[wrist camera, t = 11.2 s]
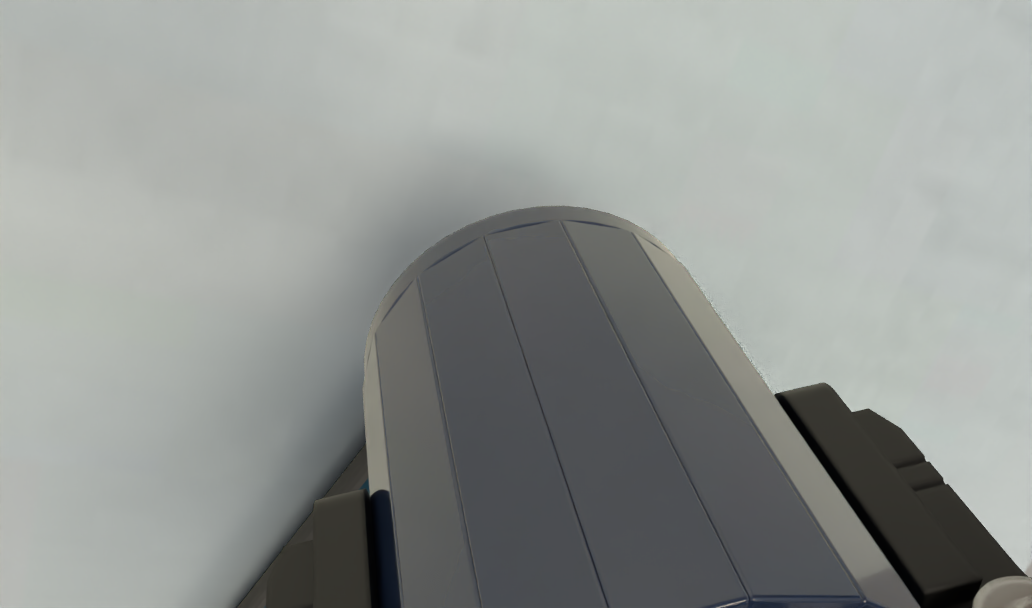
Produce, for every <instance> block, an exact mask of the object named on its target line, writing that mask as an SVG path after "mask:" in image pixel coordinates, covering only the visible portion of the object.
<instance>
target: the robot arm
mask: <svg viewBox="0 0 1032 608" xmlns="http://www.w3.org/2000/svg"><path fill="white" fill-rule="evenodd" d="M774 396H775V398H776V399H777V401H778V402H779V403H780V405H781V406H782V408H783V409H784V411H785V412H786V413H787V415H788V416H789V418H790V419H791V421H792V422H793V424H794V425H795V426H796V428H797V429H798V431H799V432H800V434H801V435H802V437H803V438H804V439H805V441H806V442H807V444H808V445H809V447H810V448H811V450H812V451H813V452H814V454H815V455H816V457H817V458H818V460H819V461H820V462H821V464H822V465H823V467H824V468H825V470H826V471H827V473H828V474H829V475H830V477H831V478H832V480H833V481H834V483H835V484H836V486H837V487H838V488H839V490H840V491H841V493H842V494H843V496H844V497H845V499H846V500H847V501H848V503H849V504H850V506H851V507H852V509H853V510H854V511H855V513H856V514H857V516H858V517H859V519H860V520H861V522H862V523H863V524H864V526H865V527H866V529H867V530H868V532H869V533H870V535H871V536H872V537H873V539H874V540H875V542H876V543H877V545H878V546H879V548H880V549H881V550H882V552H883V553H884V555H885V556H886V558H887V559H888V560H889V562H890V563H891V565H892V566H893V568H894V569H895V571H896V572H897V573H898V575H899V576H900V578H901V579H902V581H903V582H904V584H905V585H906V586H907V588H908V589H909V591H910V592H911V594H912V595H913V597H914V598H915V599H916V601H917V602H918V604H919V605H920V607H921V608H1032V578H1031V577H1028V576H1027V575H1026V574H1024V572H1023V571H1022V570H1021V569H1020V568H1019V567H1018V566H1017V565H1016V564H1015V563H1014V562H1013V560H1012V559H1011V558H1010V557H1009V556H1008V554H1007V553H1006V552H1005V551H1004V550H1003V549H1002V547H1001V546H1000V545H999V544H998V543H997V541H996V540H995V539H994V538H993V537H992V536H991V534H990V533H989V532H988V531H987V530H986V528H985V527H984V526H983V525H982V524H981V522H980V521H979V520H978V519H977V518H976V517H975V515H974V514H973V513H972V512H971V511H970V509H969V508H968V507H967V506H966V505H965V503H964V502H963V501H962V500H961V499H960V498H959V496H958V495H957V494H956V493H955V492H954V490H953V489H952V488H951V487H950V486H949V485H948V484H945V483H944V481H943V477H942V476H941V475H940V474H939V473H938V471H937V470H936V469H935V468H934V467H933V466H932V464H931V463H930V462H926V460H925V456H924V455H923V454H922V453H921V451H920V450H919V449H918V448H917V447H916V445H915V444H914V443H913V442H912V441H911V439H910V438H909V437H908V436H907V435H906V434H905V432H904V431H903V430H902V429H901V428H899V427H898V426H896V425H894V424H893V423H891V422H890V421H888V420H886V419H885V418H883V417H881V416H880V415H878V414H877V413H875V412H873V411H872V410H870V409H864V410H860V411H856V412H851V411H850V409H849V408H848V407H847V406H846V404H845V403H844V402H843V401H842V399H841V398H840V397H839V395H838V394H837V393H836V392H835V390H834V389H833V388H832V387H831V386H829V385H828V384H826V383H819V384H815V385H810V386H806V387H802V388H797V389H793V390H789V391H785V392H780V393H776V394H775V395H774ZM266 608H378V597H377V583H376V569H375V556H374V542H373V528H372V514H371V501H370V495H369V493H368V491H367V489H366V488H365V489H361V490H357V491H352V492H348V493H344V494H340V495H335V496H331V497H327V498H323V499H318V500H315V502H314V506H313V540H310V541H305V542H301V543H297V544H293V545H289V546H285V547H283V549H282V551H281V553H280V555H279V557H278V560H277V562H276V564H275V566H274V568H273V570H272V572H271V574H270V576H269V578H268V580H267V591H266Z"/></svg>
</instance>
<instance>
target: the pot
mask: <svg viewBox="0 0 1032 608" xmlns="http://www.w3.org/2000/svg"><path fill="white" fill-rule="evenodd" d="M364 377H365V378H364V383H363V387H362V391H363V406H364V420H365V434H366V448H367V461H368V475H369V489H370V501H371V514H372V528H373V542H374V556H375V569H376V583H377V597H378V608H921V607H920V605H919V604H918V602H917V601H916V599H915V598H914V597H913V595H912V594H911V592H910V591H909V589H908V588H907V586H906V585H905V584H904V582H903V581H902V579H901V578H900V576H899V575H898V573H897V572H896V571H895V569H894V568H893V566H892V565H891V563H890V562H889V560H888V559H887V558H886V556H885V555H884V553H883V552H882V550H881V549H880V548H879V546H878V545H877V543H876V542H875V540H874V539H873V537H872V536H871V535H870V533H869V532H868V530H867V529H866V527H865V526H864V524H863V523H862V522H861V520H860V519H859V517H858V516H857V514H856V513H855V511H854V510H853V509H852V507H851V506H850V504H849V503H848V501H847V500H846V499H845V497H844V496H843V494H842V493H841V491H840V490H839V488H838V487H837V486H836V484H835V483H834V481H833V480H832V478H831V477H830V475H829V474H828V473H827V471H826V470H825V468H824V467H823V465H822V464H821V462H820V461H819V460H818V458H817V457H816V455H815V454H814V452H813V451H812V450H811V448H810V447H809V445H808V444H807V442H806V441H805V439H804V438H803V437H802V435H801V434H800V432H799V431H798V429H797V428H796V426H795V425H794V424H793V422H792V421H791V419H790V418H789V416H788V415H787V413H786V412H785V411H784V409H783V408H782V406H781V405H780V403H779V402H778V401H777V399H776V398H775V396H774V395H773V393H772V392H771V390H770V389H769V388H768V386H767V385H766V383H765V382H764V380H763V379H762V377H761V376H760V375H759V373H758V372H757V370H756V369H755V367H754V366H753V364H752V363H751V362H750V360H749V359H748V357H747V356H746V354H745V353H744V351H743V350H742V349H741V347H740V346H739V344H738V343H737V341H736V340H735V339H734V337H733V336H732V334H731V333H730V331H729V330H728V328H727V327H726V326H725V324H724V323H723V321H722V320H721V318H720V317H719V315H718V314H717V313H716V311H715V310H714V308H713V307H712V305H711V304H710V302H709V301H708V300H707V298H706V297H705V295H704V294H703V292H702V291H701V290H700V288H699V287H698V285H697V284H696V282H695V281H694V279H693V278H692V277H691V275H690V274H689V272H688V271H687V269H686V268H685V267H684V266H683V265H682V263H680V262H679V261H677V259H676V258H675V256H674V255H673V254H672V253H671V252H670V251H669V250H668V249H667V248H666V247H665V245H664V244H663V243H662V242H660V241H659V240H658V239H657V238H655V237H654V236H653V235H651V234H650V233H649V232H648V231H646V230H644V229H643V228H641V227H639V226H637V225H635V224H634V223H632V222H630V221H628V220H625V219H623V218H620V217H617V216H615V215H612V214H609V213H606V212H601V211H597V210H592V209H588V208H581V207H571V206H537V207H531V208H524V209H517V210H512V211H508V212H505V213H501V214H497V215H493V216H490V217H487V218H485V219H482V220H480V221H477V222H475V223H472V224H470V225H467V226H465V227H463V228H462V229H460V230H458V231H456V232H454V233H452V234H450V235H448V236H447V237H445V238H444V239H442V240H441V241H439V242H438V243H436V244H435V245H433V246H432V247H431V248H429V249H428V250H426V251H425V252H424V253H423V254H422V255H421V256H419V257H418V258H417V259H416V260H415V261H414V262H413V263H412V264H411V265H409V266H408V267H407V269H406V270H405V271H404V272H403V273H402V274H401V276H400V277H399V278H398V279H397V280H396V281H395V282H394V284H393V285H392V286H391V288H390V290H389V291H388V293H387V294H386V296H385V297H384V299H383V300H382V302H381V303H380V305H379V308H378V310H377V312H376V314H375V316H374V318H373V320H372V323H371V326H370V330H369V333H368V337H367V340H366V347H365V354H364Z"/></svg>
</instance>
